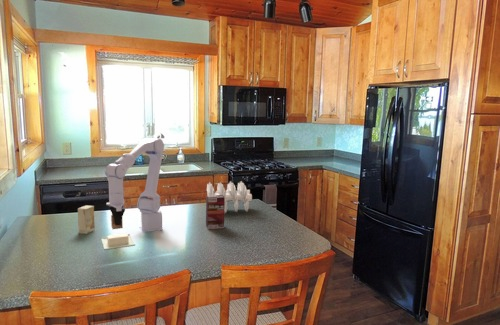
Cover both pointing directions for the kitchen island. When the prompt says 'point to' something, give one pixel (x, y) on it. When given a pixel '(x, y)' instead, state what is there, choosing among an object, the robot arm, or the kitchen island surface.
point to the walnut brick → (114, 224)
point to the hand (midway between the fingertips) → (117, 223)
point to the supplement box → (215, 211)
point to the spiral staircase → (232, 194)
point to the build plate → (106, 246)
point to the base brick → (117, 239)
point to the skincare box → (86, 219)
